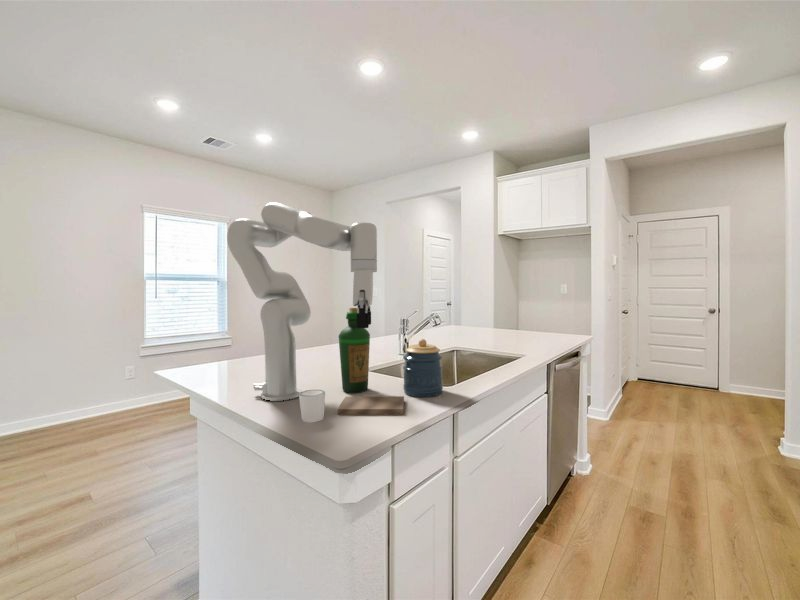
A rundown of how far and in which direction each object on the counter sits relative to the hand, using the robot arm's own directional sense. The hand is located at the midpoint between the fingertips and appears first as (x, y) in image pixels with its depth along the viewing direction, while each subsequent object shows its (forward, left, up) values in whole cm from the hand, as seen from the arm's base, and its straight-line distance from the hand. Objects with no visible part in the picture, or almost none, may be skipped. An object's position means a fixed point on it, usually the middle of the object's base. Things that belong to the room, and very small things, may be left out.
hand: (364, 326), depth 107 cm
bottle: (-6, +19, -24) cm, 31 cm away
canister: (+17, +16, -24) cm, 33 cm away
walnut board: (+2, 0, -24) cm, 24 cm away
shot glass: (-13, -9, -24) cm, 29 cm away
